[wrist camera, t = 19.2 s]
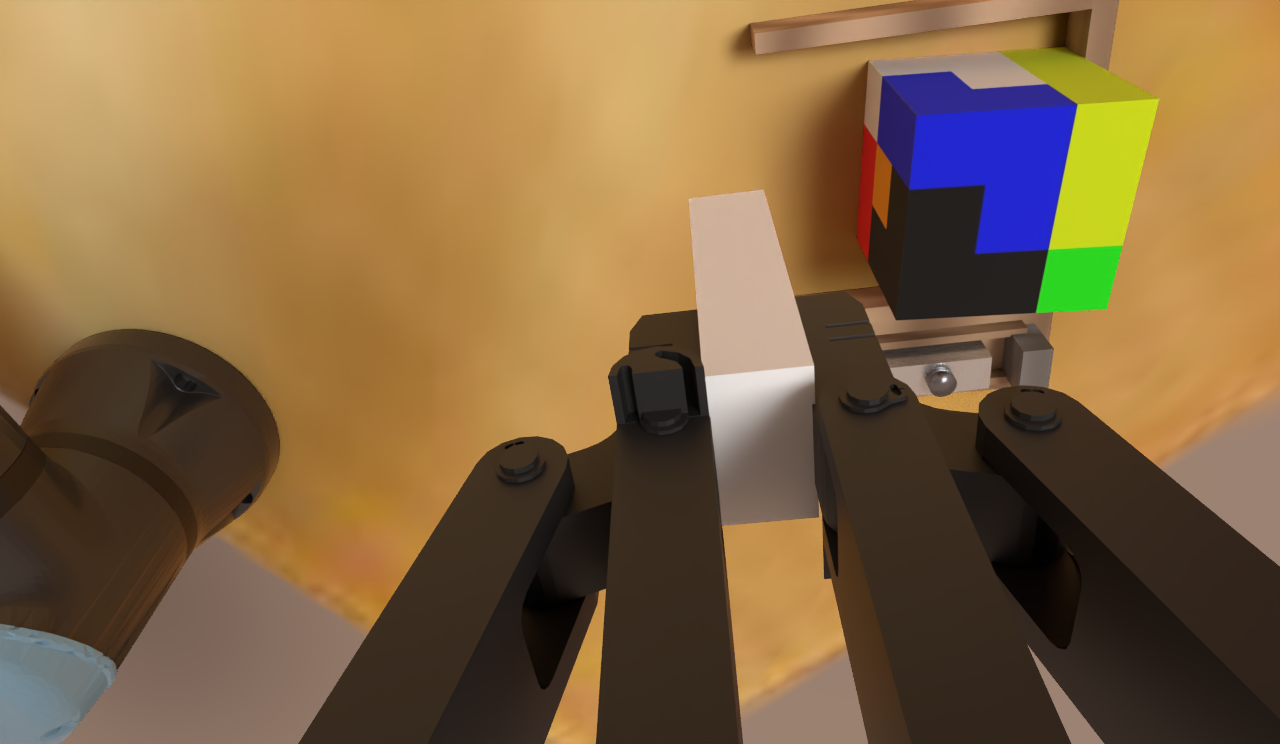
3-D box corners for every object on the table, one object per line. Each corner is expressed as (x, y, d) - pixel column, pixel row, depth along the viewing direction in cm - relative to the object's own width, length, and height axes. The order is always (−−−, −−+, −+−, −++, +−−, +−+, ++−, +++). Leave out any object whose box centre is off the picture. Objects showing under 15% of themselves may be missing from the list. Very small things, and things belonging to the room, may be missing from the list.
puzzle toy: (868, 60, 45) (916, 115, 36) (1063, 46, 44) (1159, 98, 36) (856, 237, 50) (895, 320, 42) (1030, 226, 49) (1106, 309, 41)
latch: (879, 376, 54) (891, 405, 52) (880, 346, 53) (892, 375, 50) (976, 366, 54) (993, 395, 51) (978, 336, 53) (996, 364, 50)
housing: (774, 405, 56) (780, 438, 53) (749, 23, 44) (756, 38, 41) (1042, 378, 55) (1064, 410, 52) (1098, -26, 42) (1132, -14, 39)
